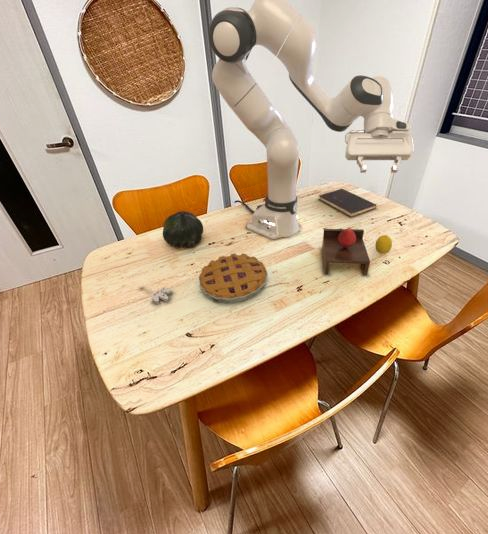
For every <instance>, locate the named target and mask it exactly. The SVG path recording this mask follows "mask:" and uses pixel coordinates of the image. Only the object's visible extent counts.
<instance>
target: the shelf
mask: <svg viewBox="0 0 488 534" xmlns="http://www.w3.org/2000/svg"><path fill="white" fill-rule="evenodd" d="M345 229H346V228H323V233H322V234H323V235H322V242H321V244H322V245H321V255H322V263H323V271H324V273H323V274H324V275H325V276H327V275H329V270H330V264H343V265H344V264H345V265H348V264H349V265H360V269H361V272H362V275H363V277H366V276H368V274H369V273H368V272H369V268H370V265H371V264H370V263H371V260H370V257H369V253H368V250H367V247H366V244H365V241H364V233H365V230H364V229H358V228H357V229H356V228H355V229H354V228H353V229H352V228H351V230H352V231H353V232H354V233H355V235H356V242H355V244H354V245H353V246H351V247H348V248H344V247H342V246H341V245H340V244H339V242H338V236H339V234H340V233H341V232H342V231H343V230H345Z"/></svg>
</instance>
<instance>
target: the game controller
mask: <svg viewBox="0 0 488 534" xmlns="http://www.w3.org/2000/svg"><path fill="white" fill-rule="evenodd" d="M140 289H141V290H143V289H144V290H145V291H147V292H148V290H147V289H146V288H144V287H141V288H140ZM151 292H152V295H151V301H152V302H153V303H155V304H156V305H158V304H160V300H161V301H164V302H169V301H170V299H169V296H168V295H170V294H171V289H169V288H168V287H161V288H159V289H158V290H156V291H153V290H151Z"/></svg>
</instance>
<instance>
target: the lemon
mask: <svg viewBox="0 0 488 534" xmlns="http://www.w3.org/2000/svg"><path fill="white" fill-rule="evenodd" d="M374 244H375V245H374V247H375V250H376V252H377V253H378V254H380V255H385V254H387V253H389V252H390V251H391V249H392V247H393V240H392V238H391V237H390V236H389V235H387V234H383V235H380V236H379V237H378V238H377V239H376V241H375V243H374Z"/></svg>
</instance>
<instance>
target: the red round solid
mask: <svg viewBox="0 0 488 534" xmlns="http://www.w3.org/2000/svg"><path fill="white" fill-rule="evenodd" d="M344 229H345V230H343V231H342V232H341V233H340V234H339V236H338V242H339V244H340V245H341V246H342V247H344V248H348V247H351V246H353V245H354V244H355V242H356V235H355V233H354V232H353V231H352V230H351V229H352V228H351V227H350V226H348V227H346V228H344Z"/></svg>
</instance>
